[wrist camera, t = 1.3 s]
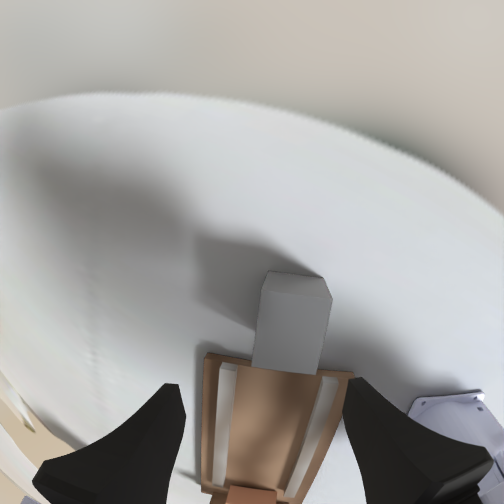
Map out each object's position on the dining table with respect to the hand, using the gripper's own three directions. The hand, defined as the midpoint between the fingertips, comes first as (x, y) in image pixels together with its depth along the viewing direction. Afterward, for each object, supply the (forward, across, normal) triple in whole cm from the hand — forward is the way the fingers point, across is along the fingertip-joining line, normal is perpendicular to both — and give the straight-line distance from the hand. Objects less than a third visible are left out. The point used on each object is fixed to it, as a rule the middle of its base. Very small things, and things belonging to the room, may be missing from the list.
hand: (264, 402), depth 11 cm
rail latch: (+7, +1, +23) cm, 24 cm away
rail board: (+9, 0, +16) cm, 18 cm away
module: (+10, -2, 0) cm, 11 cm away
